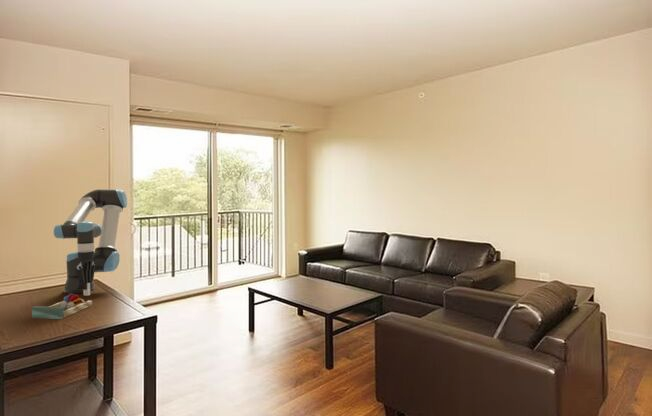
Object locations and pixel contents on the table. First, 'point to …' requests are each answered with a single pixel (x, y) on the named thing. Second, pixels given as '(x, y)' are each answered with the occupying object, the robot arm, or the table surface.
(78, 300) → the rainbow disc toy
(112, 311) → the table surface
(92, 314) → the table surface
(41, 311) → the channel
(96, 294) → the table surface
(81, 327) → the table surface
